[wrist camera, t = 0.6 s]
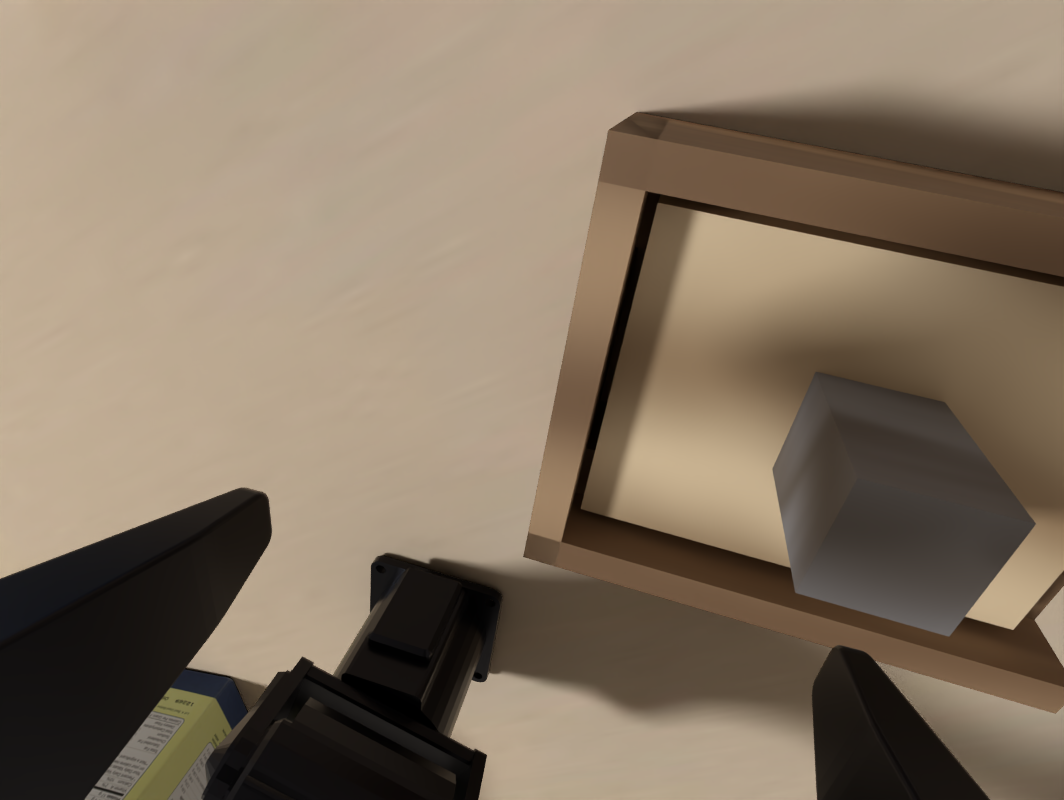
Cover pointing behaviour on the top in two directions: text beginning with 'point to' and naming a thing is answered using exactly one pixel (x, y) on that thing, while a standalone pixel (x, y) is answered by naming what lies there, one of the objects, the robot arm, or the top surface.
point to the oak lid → (843, 414)
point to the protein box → (175, 742)
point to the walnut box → (598, 331)
